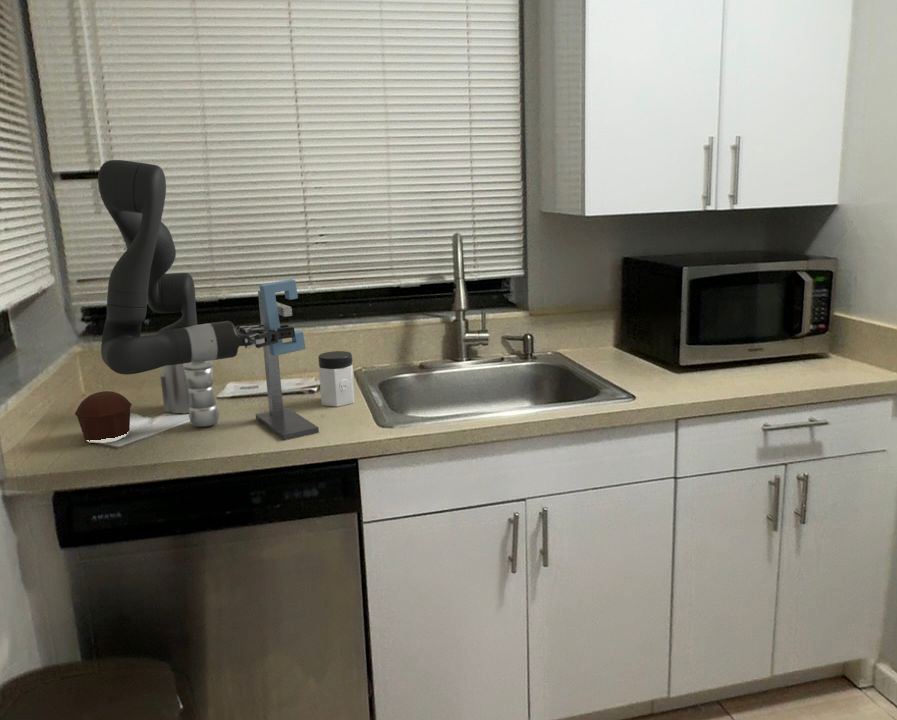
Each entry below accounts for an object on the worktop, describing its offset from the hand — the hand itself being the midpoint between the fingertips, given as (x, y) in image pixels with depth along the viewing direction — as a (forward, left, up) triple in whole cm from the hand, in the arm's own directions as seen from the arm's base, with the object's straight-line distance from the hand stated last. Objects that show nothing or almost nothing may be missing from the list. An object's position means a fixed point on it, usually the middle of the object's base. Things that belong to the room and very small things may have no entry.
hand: (290, 330), depth 162 cm
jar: (+7, +21, -23) cm, 32 cm away
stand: (-3, +4, -22) cm, 23 cm away
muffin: (-42, +2, -23) cm, 48 cm away
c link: (-1, -1, -4) cm, 5 cm away
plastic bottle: (-22, +7, -23) cm, 33 cm away
